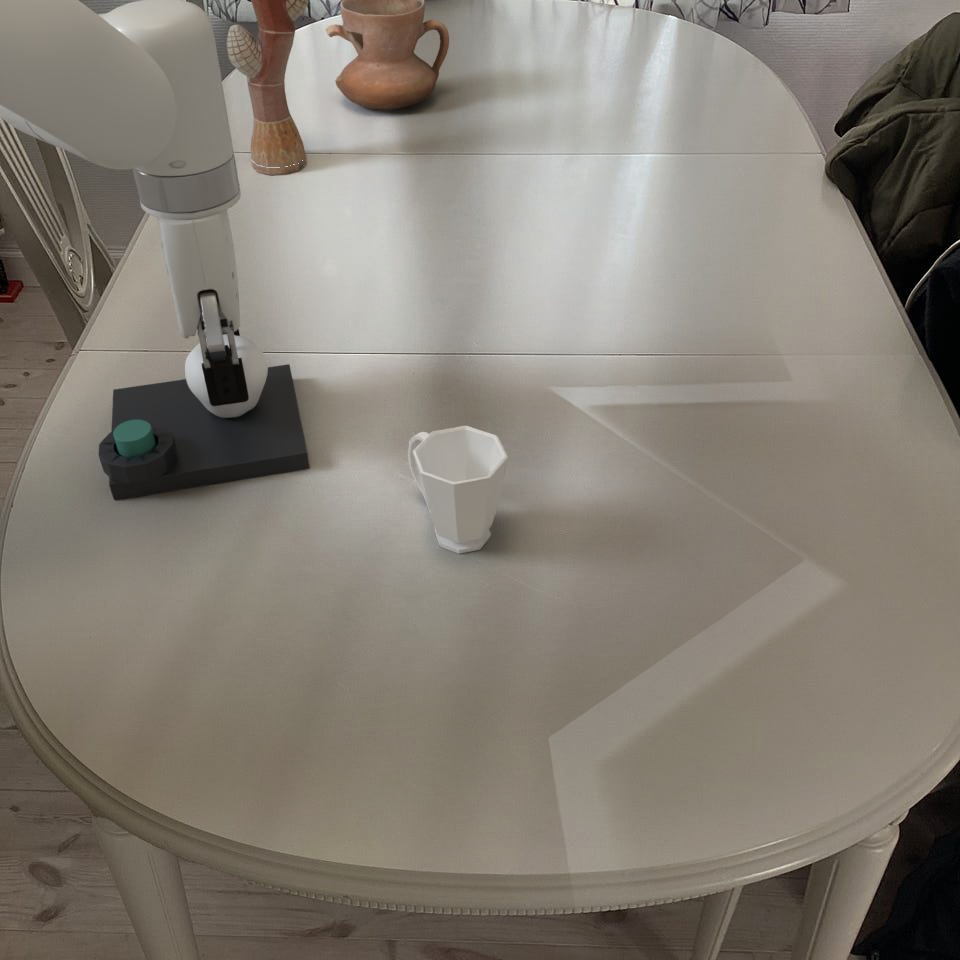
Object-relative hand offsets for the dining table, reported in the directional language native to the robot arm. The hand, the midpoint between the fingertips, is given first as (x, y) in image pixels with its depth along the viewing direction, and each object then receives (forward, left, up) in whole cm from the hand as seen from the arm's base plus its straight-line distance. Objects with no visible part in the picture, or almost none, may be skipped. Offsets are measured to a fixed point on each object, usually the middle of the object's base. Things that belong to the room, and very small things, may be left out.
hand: (226, 375), depth 88 cm
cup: (+16, -18, -5) cm, 25 cm away
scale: (-2, -1, -5) cm, 6 cm away
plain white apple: (0, 0, -3) cm, 3 cm away
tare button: (-8, -6, -2) cm, 10 cm away
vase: (+11, +58, -5) cm, 59 cm away
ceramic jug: (+29, +78, -5) cm, 83 cm away
